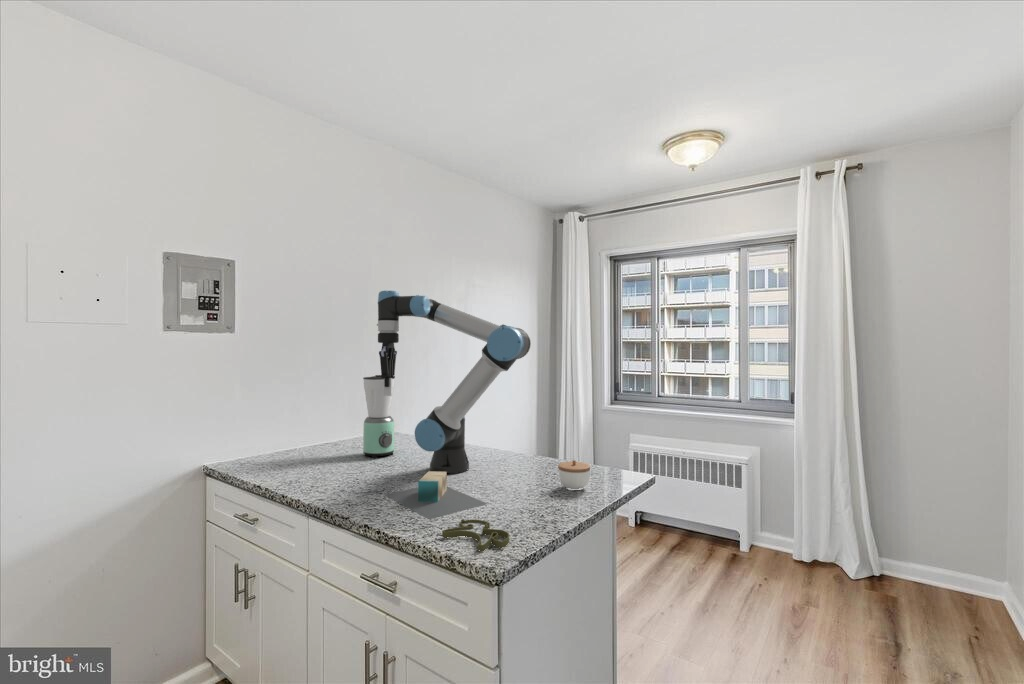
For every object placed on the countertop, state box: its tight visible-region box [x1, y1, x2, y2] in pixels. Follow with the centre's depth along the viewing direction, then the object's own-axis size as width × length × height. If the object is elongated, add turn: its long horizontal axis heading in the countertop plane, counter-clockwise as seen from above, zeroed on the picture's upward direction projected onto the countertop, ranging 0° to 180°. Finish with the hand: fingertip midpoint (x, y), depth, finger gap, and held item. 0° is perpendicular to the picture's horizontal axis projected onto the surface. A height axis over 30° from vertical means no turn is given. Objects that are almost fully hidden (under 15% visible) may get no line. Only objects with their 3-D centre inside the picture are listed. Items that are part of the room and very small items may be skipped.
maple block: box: [417, 470, 448, 502], centre depth 151 cm, size 6×6×12 cm
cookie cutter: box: [441, 519, 510, 552], centre depth 121 cm, size 18×12×2 cm, turn 50°
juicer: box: [362, 374, 395, 459], centre depth 213 cm, size 19×13×35 cm
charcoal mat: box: [384, 486, 488, 520], centre depth 148 cm, size 20×28×1 cm
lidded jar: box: [557, 459, 591, 489], centre depth 163 cm, size 11×11×9 cm
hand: (388, 395), depth 180 cm, fingers closed
